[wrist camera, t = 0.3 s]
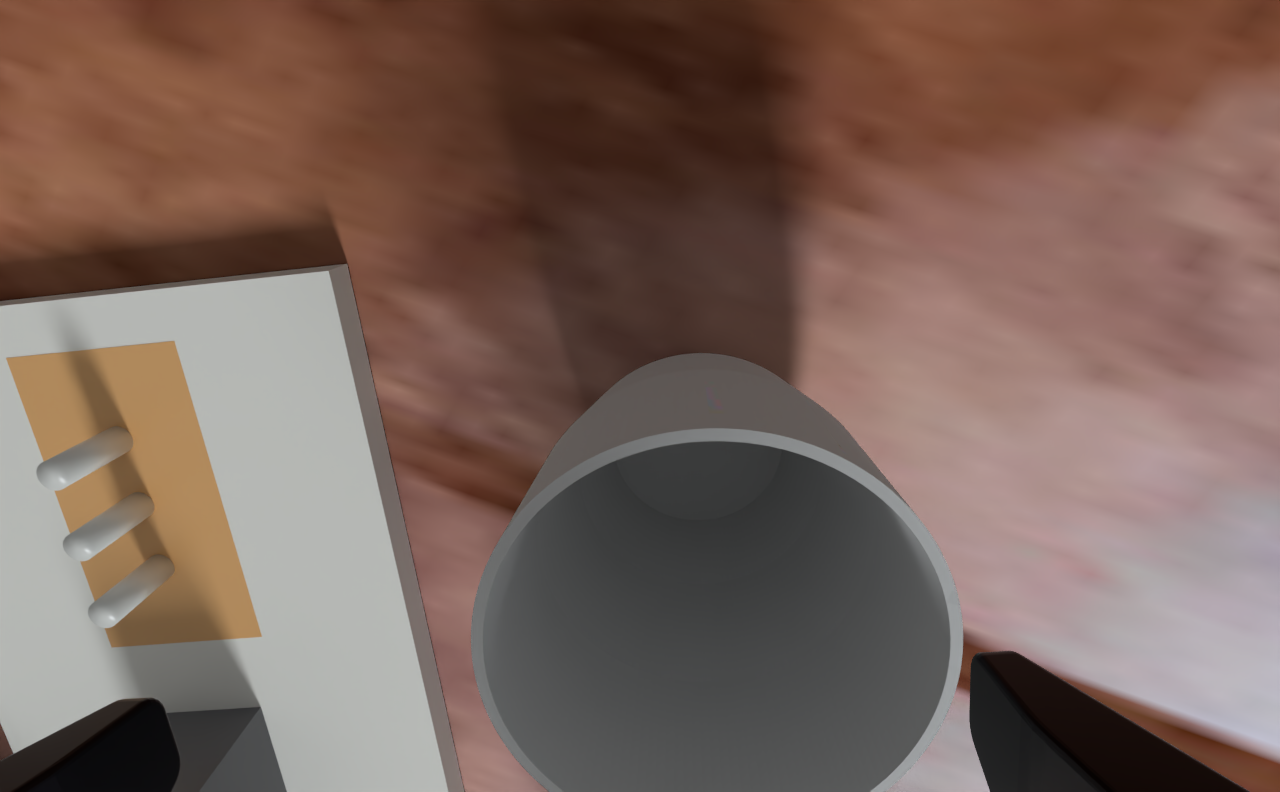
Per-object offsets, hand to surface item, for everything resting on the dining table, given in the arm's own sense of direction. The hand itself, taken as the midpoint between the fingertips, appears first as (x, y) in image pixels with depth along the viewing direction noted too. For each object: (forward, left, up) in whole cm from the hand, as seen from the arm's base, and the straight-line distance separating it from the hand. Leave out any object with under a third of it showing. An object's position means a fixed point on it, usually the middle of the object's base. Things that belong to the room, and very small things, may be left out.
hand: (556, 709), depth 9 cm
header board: (-7, +14, -14) cm, 21 cm away
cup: (-2, -2, -14) cm, 15 cm away
